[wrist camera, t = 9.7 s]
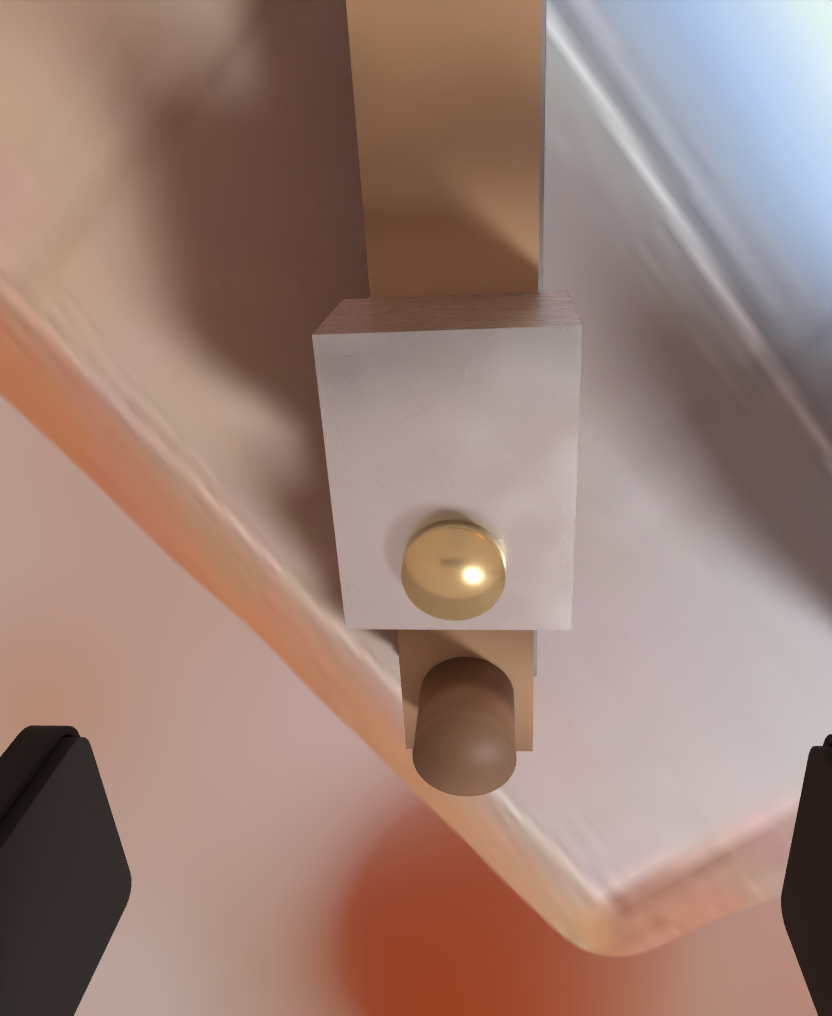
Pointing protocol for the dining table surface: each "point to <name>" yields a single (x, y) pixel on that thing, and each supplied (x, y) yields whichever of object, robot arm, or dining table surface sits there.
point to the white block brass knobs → (453, 458)
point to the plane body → (455, 292)
